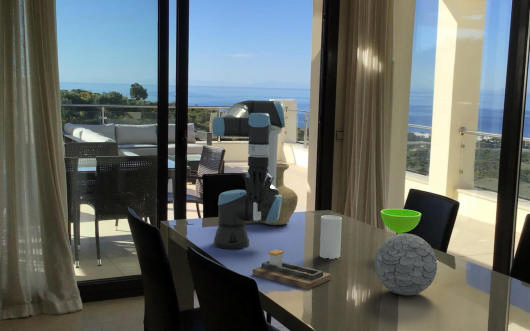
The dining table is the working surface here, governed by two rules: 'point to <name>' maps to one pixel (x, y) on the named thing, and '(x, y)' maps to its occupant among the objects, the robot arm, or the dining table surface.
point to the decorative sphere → (406, 264)
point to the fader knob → (276, 257)
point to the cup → (330, 236)
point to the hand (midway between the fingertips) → (257, 219)
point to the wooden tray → (292, 274)
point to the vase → (284, 197)
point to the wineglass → (400, 219)
